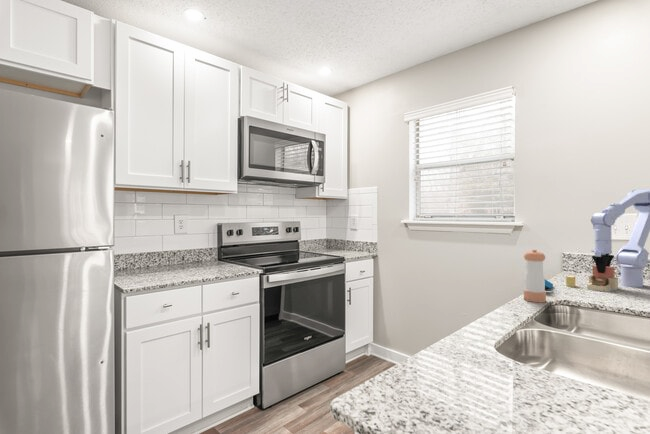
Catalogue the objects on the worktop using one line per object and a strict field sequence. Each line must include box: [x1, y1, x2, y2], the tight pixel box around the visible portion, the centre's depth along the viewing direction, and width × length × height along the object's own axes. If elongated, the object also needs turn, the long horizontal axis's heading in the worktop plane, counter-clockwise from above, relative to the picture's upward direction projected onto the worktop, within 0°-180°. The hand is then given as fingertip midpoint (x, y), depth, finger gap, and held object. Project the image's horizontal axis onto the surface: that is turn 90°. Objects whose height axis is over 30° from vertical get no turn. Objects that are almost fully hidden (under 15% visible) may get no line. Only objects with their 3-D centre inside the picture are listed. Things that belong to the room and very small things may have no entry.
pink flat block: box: [592, 265, 616, 279], centre depth 153 cm, size 2×7×5 cm, turn 38°
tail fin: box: [565, 275, 576, 288], centre depth 157 cm, size 3×2×5 cm
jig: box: [583, 274, 620, 293], centre depth 152 cm, size 14×9×5 cm, turn 128°
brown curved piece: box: [590, 274, 609, 286], centre depth 152 cm, size 12×4×6 cm, turn 128°
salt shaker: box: [523, 249, 547, 303], centre depth 135 cm, size 7×7×19 cm
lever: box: [544, 278, 554, 289], centre depth 152 cm, size 7×7×18 cm
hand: (603, 272), depth 153 cm, fingers open, 5 cm apart
